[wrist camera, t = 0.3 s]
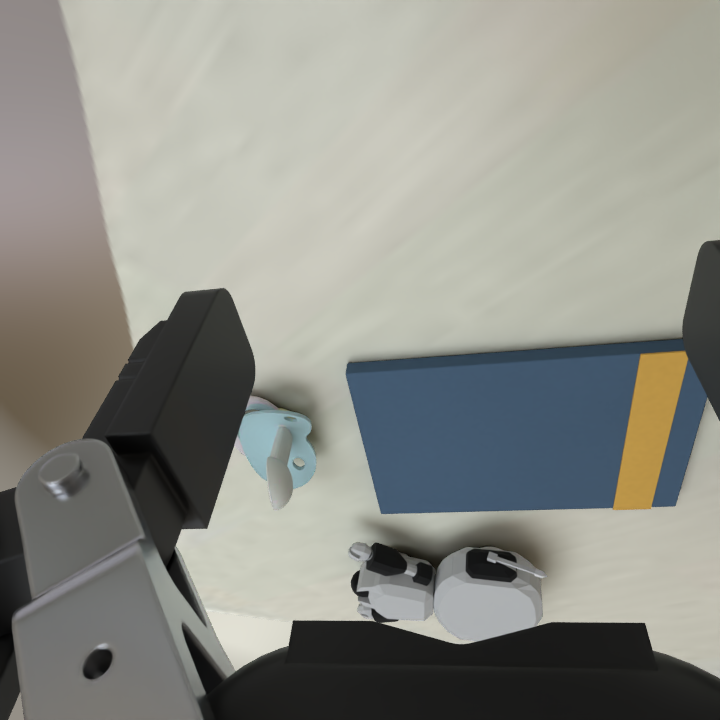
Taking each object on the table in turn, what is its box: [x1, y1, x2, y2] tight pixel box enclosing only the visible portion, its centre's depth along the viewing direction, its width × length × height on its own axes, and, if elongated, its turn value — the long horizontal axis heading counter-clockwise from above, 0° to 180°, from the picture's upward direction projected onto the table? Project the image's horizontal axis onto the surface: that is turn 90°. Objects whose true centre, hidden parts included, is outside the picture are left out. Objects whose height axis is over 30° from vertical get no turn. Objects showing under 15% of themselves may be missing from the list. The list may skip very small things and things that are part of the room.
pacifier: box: [234, 396, 316, 511], centre depth 37 cm, size 7×6×6 cm
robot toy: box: [348, 542, 548, 642], centre depth 47 cm, size 12×4×15 cm
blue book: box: [346, 339, 707, 514], centre depth 37 cm, size 14×20×1 cm
